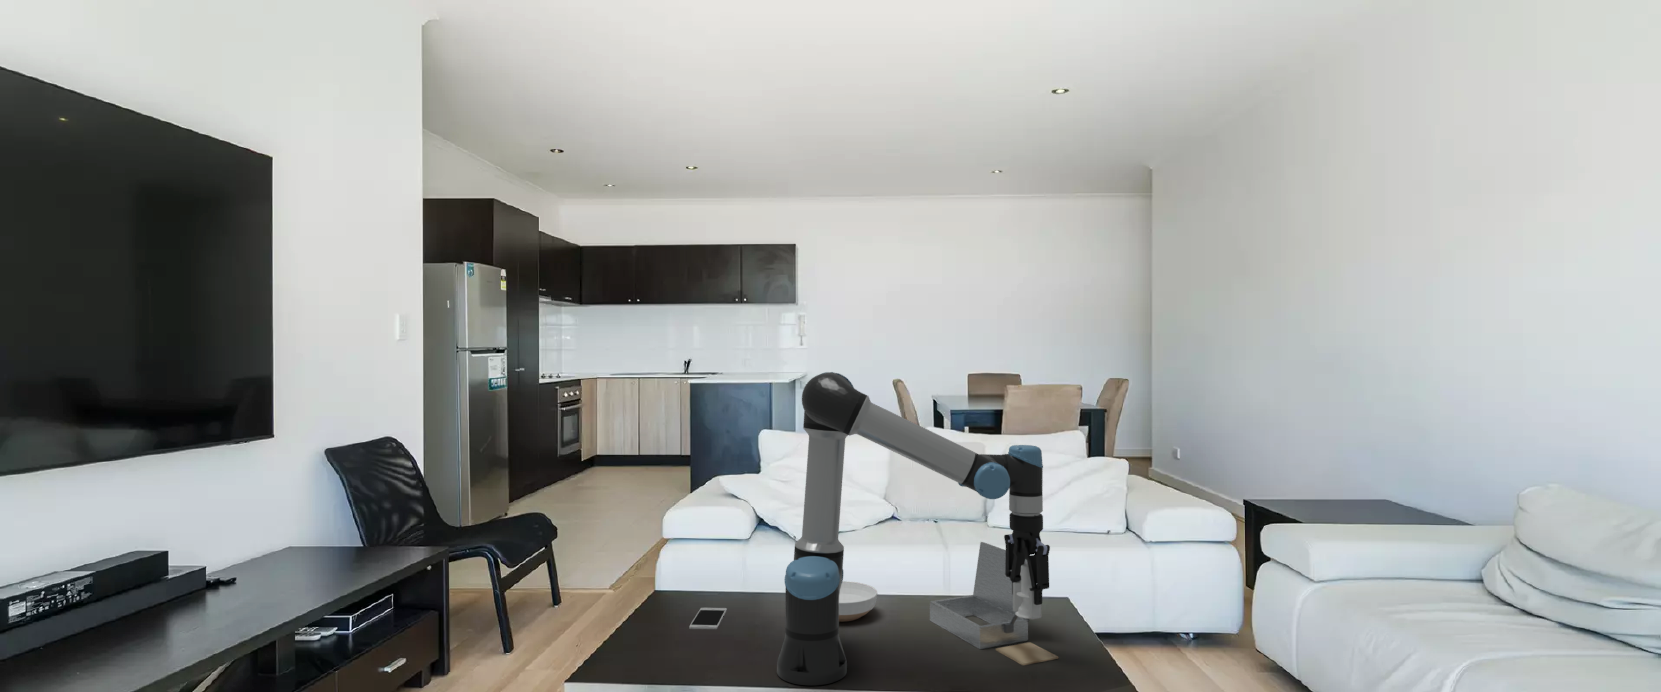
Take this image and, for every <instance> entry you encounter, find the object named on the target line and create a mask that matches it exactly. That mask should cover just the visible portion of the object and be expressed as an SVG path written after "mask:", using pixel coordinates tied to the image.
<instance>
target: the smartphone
mask: <svg viewBox="0 0 1661 692" xmlns="http://www.w3.org/2000/svg"><path fill="white" fill-rule="evenodd" d="M727 610H728V608H726V607H700V609H699V611H697V613H696V615H695V617H694V618H693V619H692V621H691V623H690V625H689V626H688V627H689V628H688V629H689V630H717V629H718V628H719V627H720V624H721V623H722V621H723V619H724V617H723V616H725V615H726V613H727Z"/></svg>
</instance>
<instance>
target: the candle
mask: <svg viewBox="0 0 1661 692" xmlns="http://www.w3.org/2000/svg"><path fill="white" fill-rule="evenodd" d="M1020 575H1021V592H1018V593H1017V595H1018V596H1019V597H1021V598H1022V599H1023V602H1022V604H1021V606H1020V607H1019V609H1018V611H1017V612H1016V613H1015V615H1016V616H1018V617H1021V618H1026V619H1029V620H1031V619H1030V601H1029V588H1032V585H1031V579H1030V574H1029V568H1028V564H1027V563H1026V564H1023V565H1021V572H1020Z"/></svg>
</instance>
